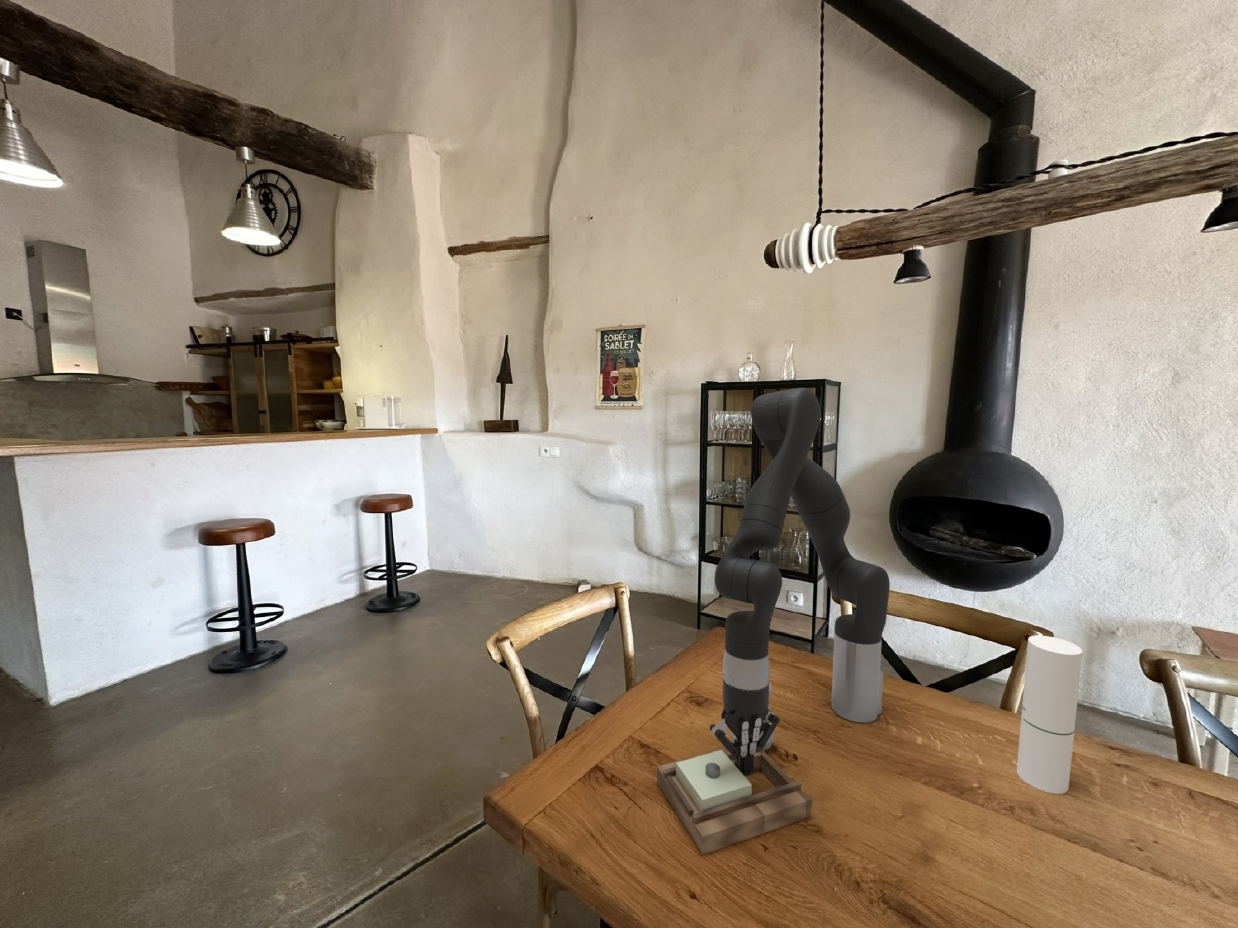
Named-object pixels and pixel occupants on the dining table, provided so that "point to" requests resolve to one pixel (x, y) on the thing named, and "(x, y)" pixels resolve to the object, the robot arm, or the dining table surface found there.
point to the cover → (712, 780)
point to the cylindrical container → (1049, 713)
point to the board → (737, 806)
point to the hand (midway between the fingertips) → (743, 771)
